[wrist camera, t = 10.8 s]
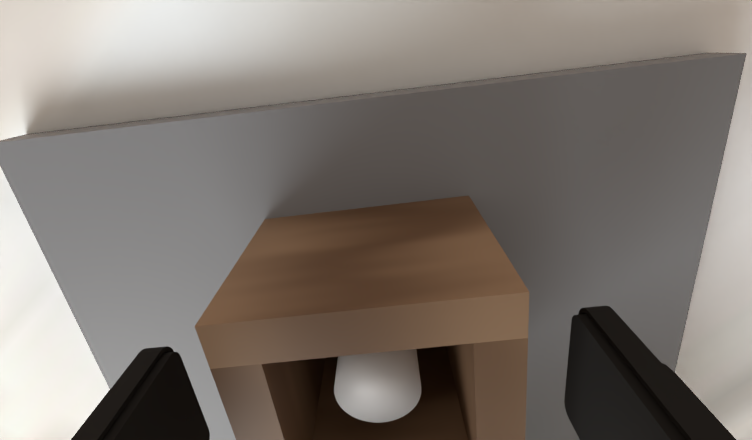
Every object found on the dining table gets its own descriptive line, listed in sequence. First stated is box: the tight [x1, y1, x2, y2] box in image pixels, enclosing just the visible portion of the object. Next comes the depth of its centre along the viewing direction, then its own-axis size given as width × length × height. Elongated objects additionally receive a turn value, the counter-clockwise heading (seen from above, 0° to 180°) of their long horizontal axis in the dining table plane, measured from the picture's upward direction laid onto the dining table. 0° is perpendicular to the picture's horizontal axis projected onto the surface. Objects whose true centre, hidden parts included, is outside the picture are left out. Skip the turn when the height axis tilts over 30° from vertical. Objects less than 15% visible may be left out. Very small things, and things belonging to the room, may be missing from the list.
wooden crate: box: [194, 196, 529, 440], centre depth 11 cm, size 6×6×5 cm
